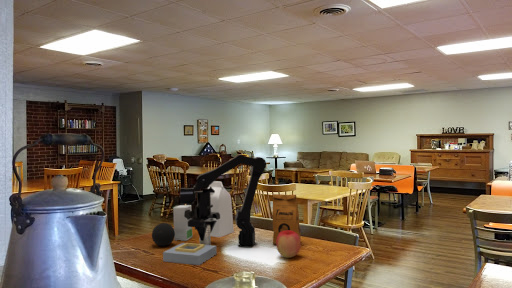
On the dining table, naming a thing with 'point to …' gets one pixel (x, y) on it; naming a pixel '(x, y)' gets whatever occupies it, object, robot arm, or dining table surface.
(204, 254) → the grey flat square piece
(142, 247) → the dining table surface
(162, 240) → the speaker
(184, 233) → the skincare box
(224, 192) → the milk
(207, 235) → the spout can
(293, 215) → the coffee package
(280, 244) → the apple
